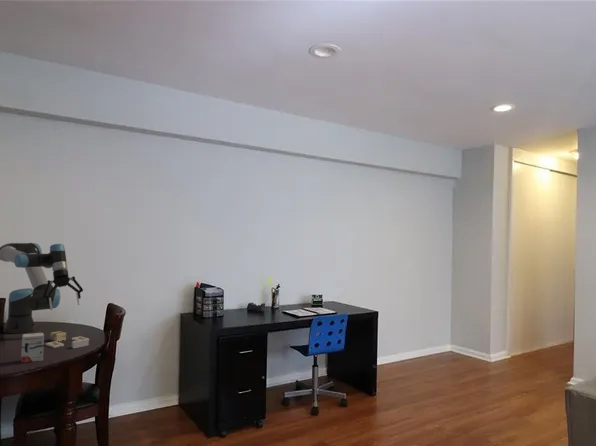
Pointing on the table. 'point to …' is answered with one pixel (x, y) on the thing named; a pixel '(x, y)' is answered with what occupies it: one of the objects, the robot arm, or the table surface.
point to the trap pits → (57, 344)
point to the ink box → (32, 347)
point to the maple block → (58, 336)
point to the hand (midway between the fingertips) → (65, 307)
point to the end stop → (80, 343)
